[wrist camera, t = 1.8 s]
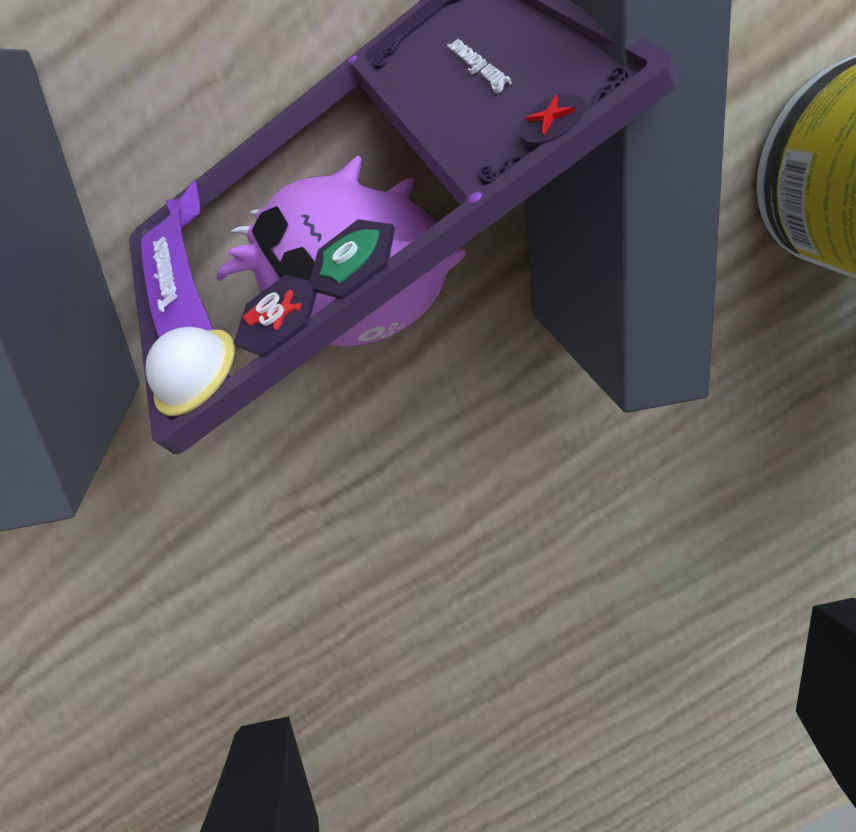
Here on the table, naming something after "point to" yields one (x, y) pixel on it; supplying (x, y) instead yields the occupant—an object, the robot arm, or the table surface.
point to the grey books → (548, 249)
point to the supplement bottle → (814, 171)
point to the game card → (382, 195)
